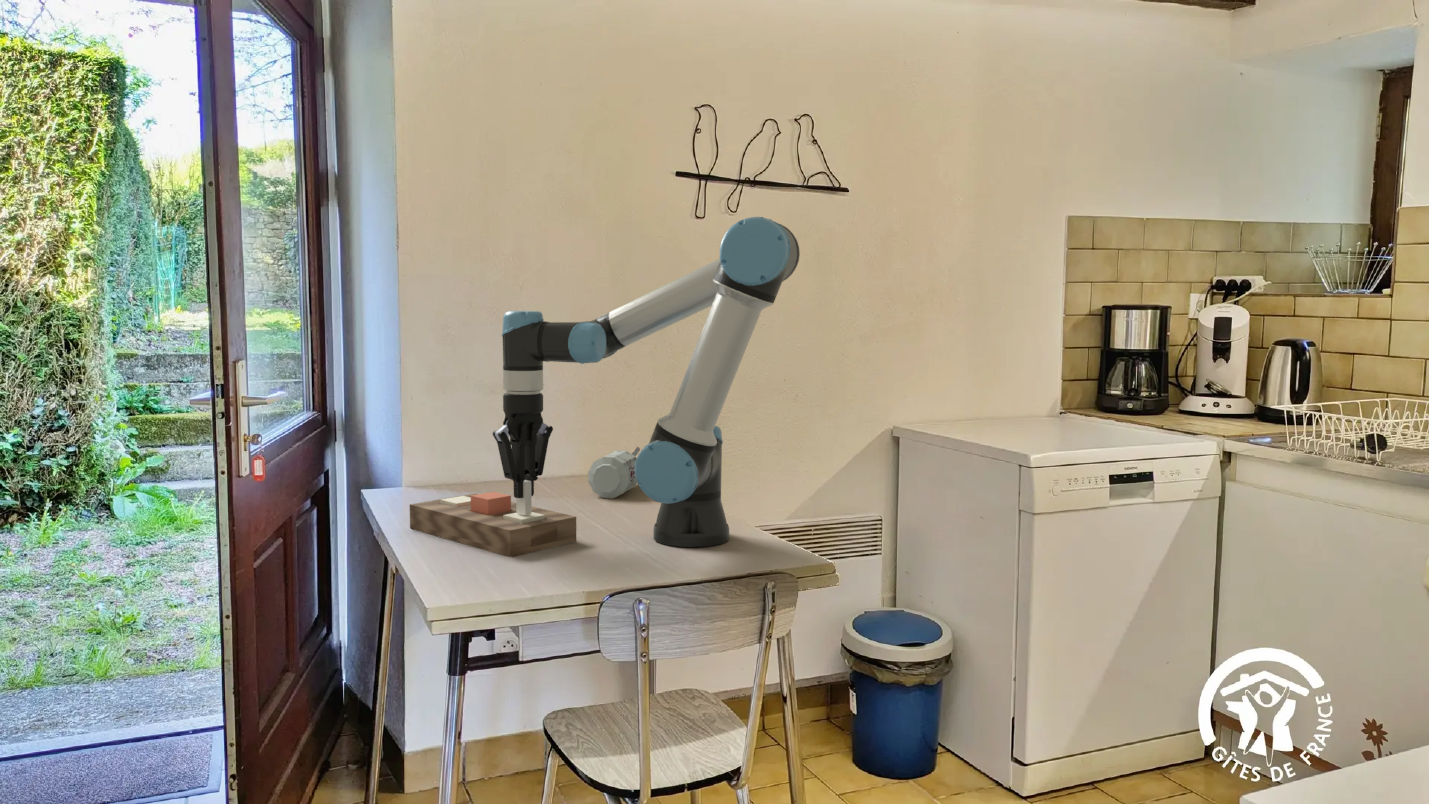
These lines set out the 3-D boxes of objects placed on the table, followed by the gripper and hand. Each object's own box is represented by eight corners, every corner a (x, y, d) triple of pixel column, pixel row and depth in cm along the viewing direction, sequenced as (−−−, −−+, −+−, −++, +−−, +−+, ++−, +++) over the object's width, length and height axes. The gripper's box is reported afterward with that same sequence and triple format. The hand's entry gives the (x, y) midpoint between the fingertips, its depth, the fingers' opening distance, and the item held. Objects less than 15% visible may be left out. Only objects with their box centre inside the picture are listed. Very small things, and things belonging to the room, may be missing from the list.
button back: (479, 520, 207) (479, 499, 206) (456, 525, 202) (456, 503, 202) (463, 516, 210) (463, 495, 210) (440, 521, 206) (440, 499, 206)
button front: (545, 537, 193) (544, 514, 193) (521, 542, 189) (521, 519, 188) (526, 533, 197) (526, 510, 196) (503, 538, 192) (503, 515, 192)
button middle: (511, 517, 200) (510, 495, 199) (488, 522, 195) (487, 499, 195) (493, 513, 203) (493, 491, 203) (470, 517, 199) (470, 495, 199)
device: (626, 500, 235) (626, 458, 234) (586, 498, 237) (586, 456, 236) (659, 479, 265) (660, 442, 264) (623, 477, 267) (624, 440, 266)
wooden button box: (576, 541, 195) (576, 516, 194) (510, 557, 183) (509, 530, 182) (475, 516, 216) (474, 493, 216) (410, 528, 204) (409, 504, 204)
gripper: (537, 388, 197) (538, 505, 200) (482, 392, 187) (484, 516, 190) (562, 391, 192) (562, 511, 195) (507, 395, 182) (508, 522, 185)
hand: (524, 513), depth 192 cm, fingers closed
